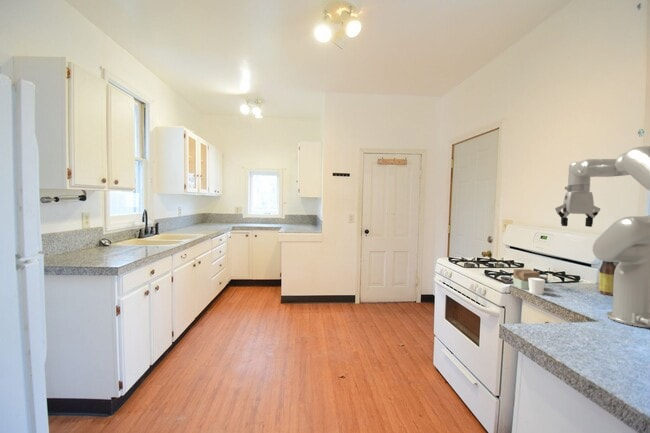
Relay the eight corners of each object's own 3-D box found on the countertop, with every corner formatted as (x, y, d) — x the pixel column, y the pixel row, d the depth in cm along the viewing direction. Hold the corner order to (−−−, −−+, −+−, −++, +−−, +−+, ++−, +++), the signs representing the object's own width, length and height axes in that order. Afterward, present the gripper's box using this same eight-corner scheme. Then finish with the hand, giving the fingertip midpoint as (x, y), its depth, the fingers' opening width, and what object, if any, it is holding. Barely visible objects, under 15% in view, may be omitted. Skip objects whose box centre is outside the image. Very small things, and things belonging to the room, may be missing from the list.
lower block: (538, 290, 143) (538, 281, 142) (521, 289, 144) (521, 280, 144) (529, 285, 150) (530, 277, 150) (513, 285, 152) (513, 277, 152)
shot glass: (548, 295, 134) (549, 280, 134) (534, 294, 134) (534, 280, 134) (538, 290, 141) (538, 277, 141) (524, 290, 141) (524, 277, 141)
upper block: (539, 281, 143) (539, 272, 143) (523, 281, 143) (523, 272, 143) (528, 277, 151) (528, 269, 151) (513, 277, 151) (513, 269, 151)
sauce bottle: (608, 292, 139) (610, 253, 139) (620, 296, 133) (622, 255, 132) (594, 291, 140) (596, 252, 139) (606, 295, 134) (607, 254, 133)
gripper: (562, 188, 125) (560, 226, 126) (607, 188, 122) (604, 227, 123) (552, 189, 133) (550, 225, 134) (594, 189, 129) (592, 226, 130)
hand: (576, 226), depth 128 cm, fingers open, 9 cm apart
